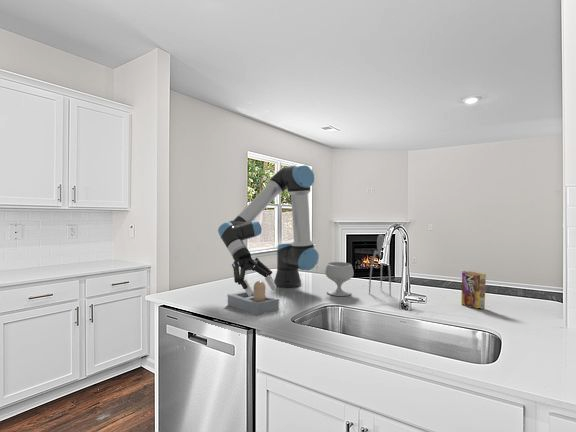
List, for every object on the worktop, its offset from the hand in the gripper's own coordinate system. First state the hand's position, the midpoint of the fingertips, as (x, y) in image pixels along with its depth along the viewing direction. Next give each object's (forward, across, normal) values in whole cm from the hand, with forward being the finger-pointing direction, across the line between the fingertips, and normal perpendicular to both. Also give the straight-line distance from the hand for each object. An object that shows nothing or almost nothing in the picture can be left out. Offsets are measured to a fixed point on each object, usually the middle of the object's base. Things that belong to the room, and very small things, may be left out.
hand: (263, 291), depth 148 cm
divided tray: (+1, 0, -10) cm, 10 cm away
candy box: (+50, -68, +39) cm, 93 cm away
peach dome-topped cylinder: (+3, 0, -7) cm, 7 cm away
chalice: (+11, -46, -1) cm, 48 cm away
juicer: (+22, -61, +11) cm, 66 cm away
